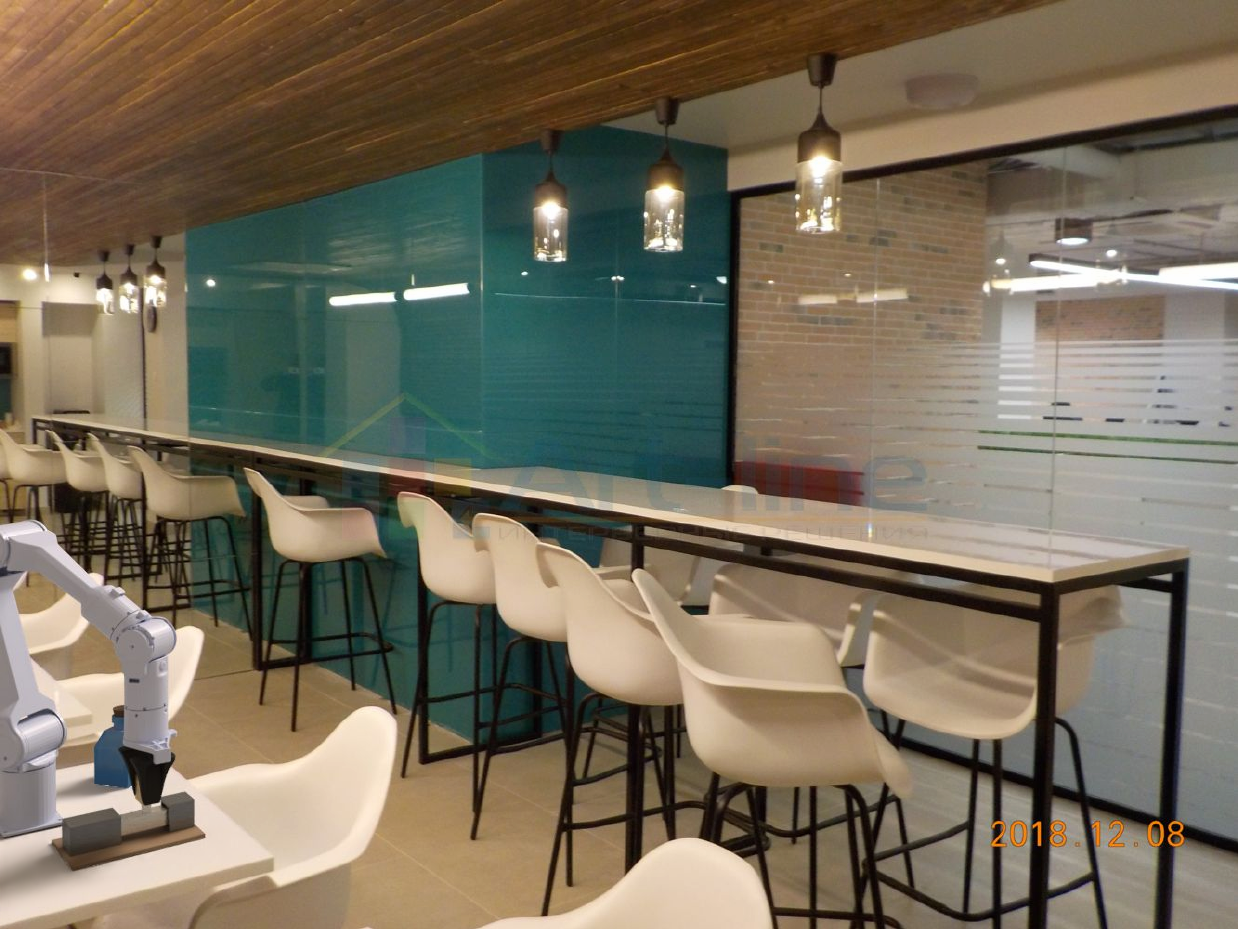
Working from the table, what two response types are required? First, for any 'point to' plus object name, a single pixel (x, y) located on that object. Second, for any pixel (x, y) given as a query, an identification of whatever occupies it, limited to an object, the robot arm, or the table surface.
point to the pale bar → (143, 816)
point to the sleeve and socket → (119, 825)
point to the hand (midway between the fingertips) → (146, 799)
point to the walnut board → (130, 846)
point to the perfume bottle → (111, 754)
